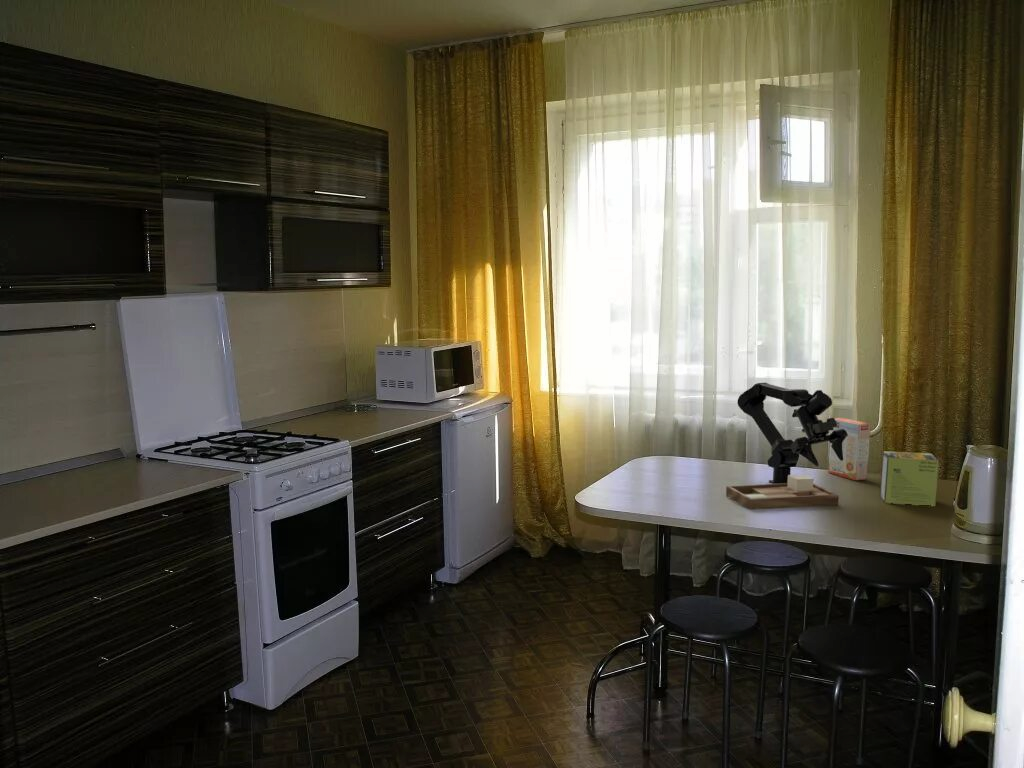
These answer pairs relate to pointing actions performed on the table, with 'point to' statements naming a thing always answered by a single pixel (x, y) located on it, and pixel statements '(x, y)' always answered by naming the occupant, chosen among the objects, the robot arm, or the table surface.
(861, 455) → the cracker box
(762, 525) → the table surface
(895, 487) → the protein box
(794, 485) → the cream block
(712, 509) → the table surface
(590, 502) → the table surface
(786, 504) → the tray
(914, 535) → the table surface
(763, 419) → the robot arm
